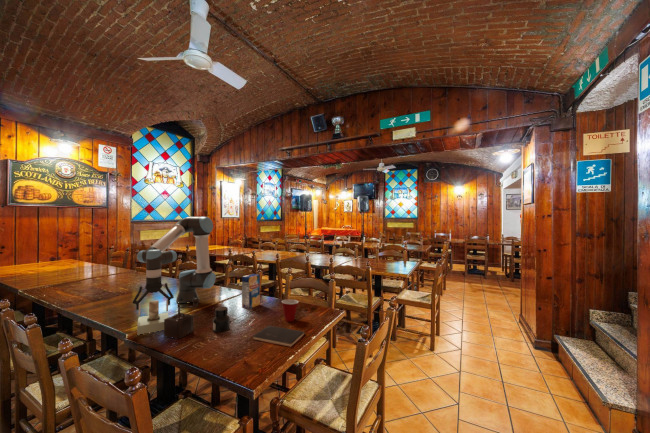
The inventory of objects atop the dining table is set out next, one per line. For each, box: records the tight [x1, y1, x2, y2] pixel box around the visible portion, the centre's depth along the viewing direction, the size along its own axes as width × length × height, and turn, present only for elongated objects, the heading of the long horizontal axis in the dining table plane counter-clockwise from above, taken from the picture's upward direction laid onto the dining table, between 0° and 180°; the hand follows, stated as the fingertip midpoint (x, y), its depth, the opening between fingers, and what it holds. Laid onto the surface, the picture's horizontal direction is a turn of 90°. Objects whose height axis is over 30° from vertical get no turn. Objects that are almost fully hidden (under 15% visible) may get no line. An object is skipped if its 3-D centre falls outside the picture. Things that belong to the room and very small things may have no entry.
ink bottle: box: [212, 306, 231, 333], centre depth 157 cm, size 10×9×12 cm
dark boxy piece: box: [163, 297, 201, 339], centre depth 153 cm, size 16×11×18 cm
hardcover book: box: [252, 325, 306, 348], centre depth 148 cm, size 16×23×2 cm
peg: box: [148, 300, 160, 321], centre depth 159 cm, size 5×5×15 cm
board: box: [136, 312, 170, 336], centre depth 159 cm, size 15×16×5 cm
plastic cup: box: [281, 298, 300, 322], centre depth 173 cm, size 11×11×12 cm
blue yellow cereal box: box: [241, 273, 261, 310], centre depth 199 cm, size 7×11×22 cm, turn 152°
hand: (153, 312), depth 159 cm, fingers open, 13 cm apart
